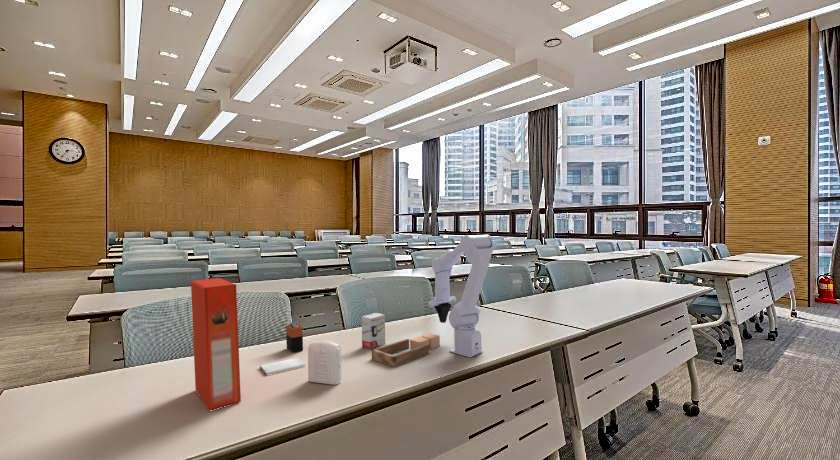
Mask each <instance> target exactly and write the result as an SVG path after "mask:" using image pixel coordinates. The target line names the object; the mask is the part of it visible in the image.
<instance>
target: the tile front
mask: <svg viewBox="0 0 840 460" xmlns="http://www.w3.org/2000/svg"><path fill="white" fill-rule="evenodd" d="M426 344H428V345H429V339H426V338H423V337H421V336H417V337H414V338H411V339H409V350H411V349H414V348H417V347H420V346H423V345H426Z"/></svg>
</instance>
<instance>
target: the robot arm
mask: <svg viewBox="0 0 840 460" xmlns="http://www.w3.org/2000/svg"><path fill="white" fill-rule="evenodd" d="M494 249H495V244H494V242H493V238H492V237H491V235H490V234H486V233H485V234H476V235H473V234H472V235H468V234H466V235H465V234H464V236H462V237H461V238H460V242H459V243H458V245H456V246H455V247H454V249H452V248H447V250H446V252H445V253H443V254H441V255H440V257H434V258H433V259H432V261H431V269H432V271H433V272H434V280H435V281H434V290H435V291H434V293H435V294H434V295H435V296H434V298H433V299H432V300H430V301H428V307H429V308H434V309H435V311H436V313H437V316H438V318H439V322H440V323H443V324H445V323H447V318H448V320H449V321H448V322H449V324H450V325H451V327H452V328H453V331H454V332H453V333H454V334H453V337H454V338H453V341H454V348H451V349H449V352H450V353H453V354H457V355H459V356H460V355H461V356H464V357H468V358H471V357H472V358H473V357H474V356H476V355H479V354H481V353H483V352H484V351H483V350H482V333H481V331H480V330H478V329H476V327H477V324H478V323H479V320H480V312H481V310H480V308H479V306H478V305H477V303H478V299H479V296H480V293H481V290H482V288H483V285H484V282H485V279H486V277H487V273H488V270H489V267H490V263H491V262H490V260H491V257H492V254H493V251H494ZM463 255H464V257H465V258H466V261H467V262H468V263H469V264H471V268H470V270H469V273H468V277H467V279H466V283H465V286H464V289H463V293H462V296H461V299H460V301H459V302H457V296H453V295H451V294H450V293H451V291H450V290H451V287H450V281H451V280H450V277H451V276H452V269H453V266H455V265H457V263H459V261H460V259H461V257H462V256H463ZM454 302H455V303H456V302H457V303H456V304H454V305H453V307H452V303H454ZM451 308H452V309H451Z"/></svg>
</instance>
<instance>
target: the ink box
mask: <svg viewBox="0 0 840 460" xmlns="http://www.w3.org/2000/svg"><path fill="white" fill-rule="evenodd" d="M385 315H386V314H384V313H383V314H382V313H379V312H373V313H370V314H366V315H363V316H361V347H362V348H365V349H369V350H373V349H376V348H379V347H382V346H384V345H386V316H385Z"/></svg>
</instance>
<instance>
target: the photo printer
mask: <svg viewBox="0 0 840 460" xmlns="http://www.w3.org/2000/svg"><path fill="white" fill-rule="evenodd" d="M307 359H308V360H307V364H308V365H307V367H308V368H307V370H308V371H307V372H308V373H307V374H308V375H307V376H308V377H307V379H308V382H312V383H317V384H325V385H333V386H334V385H335V386H337V385H339V384H340V383H342V382H341V381H342V348H341V345H340V344H338V343H337V342H334V341H330V340H316V341H312V342H310V343H309V345H308V347H307Z"/></svg>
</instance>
